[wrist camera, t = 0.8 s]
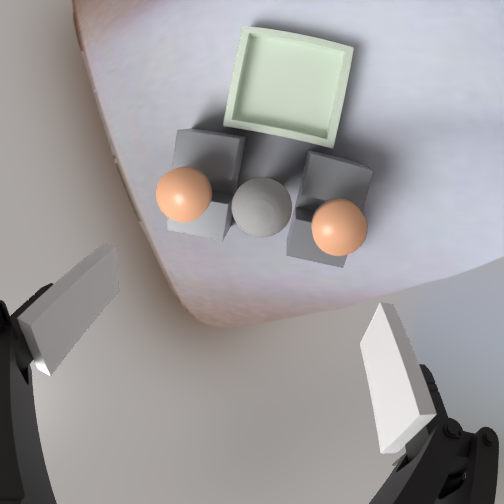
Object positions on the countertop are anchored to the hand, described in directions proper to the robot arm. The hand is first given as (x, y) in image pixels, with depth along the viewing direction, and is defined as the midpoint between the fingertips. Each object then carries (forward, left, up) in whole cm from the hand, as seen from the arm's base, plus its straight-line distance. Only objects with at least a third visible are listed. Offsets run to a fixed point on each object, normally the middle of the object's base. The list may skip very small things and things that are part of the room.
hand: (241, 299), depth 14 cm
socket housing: (0, 0, -22) cm, 22 cm away
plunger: (0, -8, -19) cm, 20 cm away
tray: (-12, 0, -22) cm, 25 cm away
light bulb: (0, 0, -22) cm, 22 cm away
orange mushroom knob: (0, +7, -19) cm, 20 cm away
